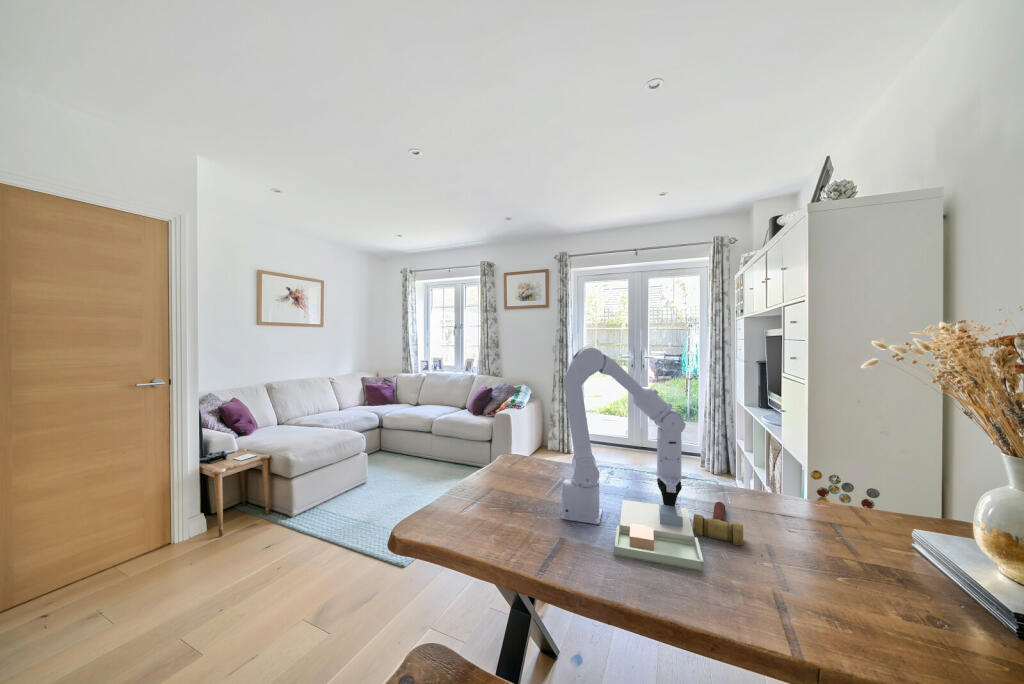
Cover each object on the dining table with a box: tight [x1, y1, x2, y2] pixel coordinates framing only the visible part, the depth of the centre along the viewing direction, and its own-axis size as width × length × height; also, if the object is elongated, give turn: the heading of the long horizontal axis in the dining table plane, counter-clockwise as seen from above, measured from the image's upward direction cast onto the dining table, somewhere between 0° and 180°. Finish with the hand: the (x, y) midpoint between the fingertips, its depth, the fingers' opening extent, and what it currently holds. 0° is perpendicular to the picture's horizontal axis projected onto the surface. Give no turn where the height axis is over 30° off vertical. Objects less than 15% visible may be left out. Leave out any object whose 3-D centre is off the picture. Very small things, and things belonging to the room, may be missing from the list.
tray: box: [614, 524, 705, 573], centre depth 81 cm, size 17×9×2 cm, turn 71°
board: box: [619, 499, 695, 542], centre depth 92 cm, size 16×14×2 cm
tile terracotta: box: [630, 523, 654, 551], centre depth 83 cm, size 5×5×2 cm
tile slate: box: [658, 503, 683, 527], centre depth 90 cm, size 5×5×2 cm
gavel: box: [692, 501, 744, 547], centre depth 93 cm, size 21×5×10 cm
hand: (668, 509), depth 95 cm, fingers closed
